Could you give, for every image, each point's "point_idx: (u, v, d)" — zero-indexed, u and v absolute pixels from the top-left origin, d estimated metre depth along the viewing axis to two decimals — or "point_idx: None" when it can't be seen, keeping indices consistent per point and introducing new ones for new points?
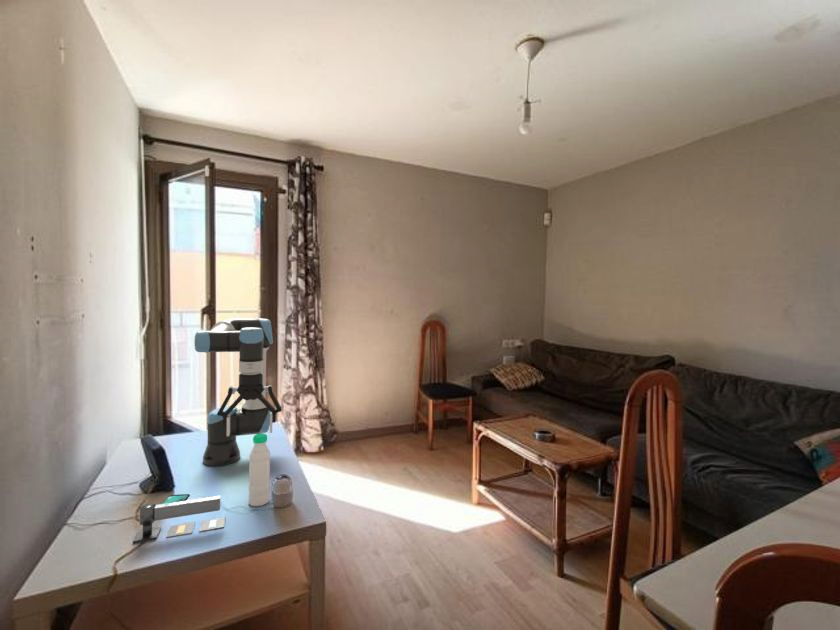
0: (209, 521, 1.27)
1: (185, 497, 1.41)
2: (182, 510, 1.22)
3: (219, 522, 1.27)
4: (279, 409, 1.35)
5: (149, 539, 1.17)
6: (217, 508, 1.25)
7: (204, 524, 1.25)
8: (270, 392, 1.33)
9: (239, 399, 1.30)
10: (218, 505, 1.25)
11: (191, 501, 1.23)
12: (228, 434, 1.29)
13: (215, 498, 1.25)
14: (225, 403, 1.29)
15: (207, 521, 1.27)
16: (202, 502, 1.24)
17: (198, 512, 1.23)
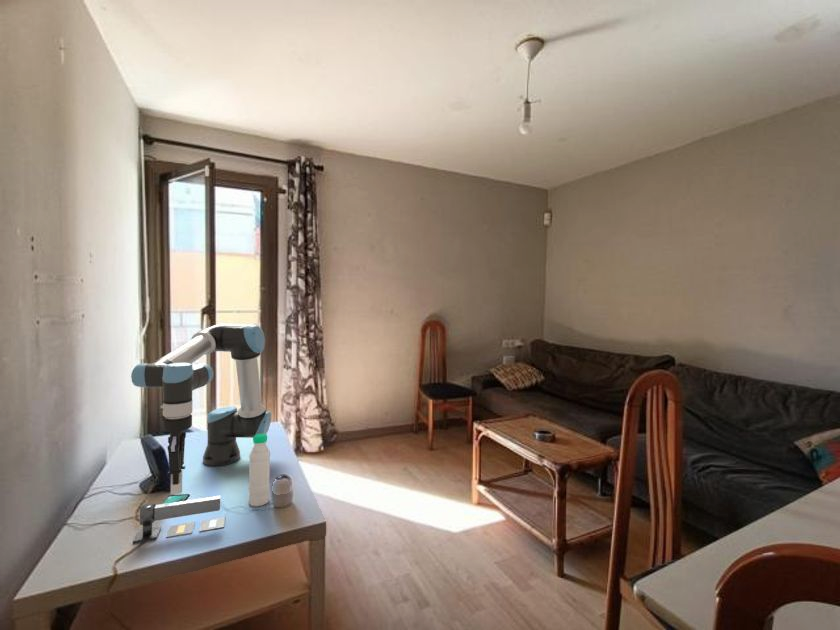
0: (209, 521, 1.27)
1: (185, 497, 1.41)
2: (182, 510, 1.22)
3: (219, 522, 1.27)
4: None
5: (149, 539, 1.17)
6: (217, 508, 1.25)
7: (204, 524, 1.25)
8: None
9: None
10: (218, 505, 1.25)
11: (191, 501, 1.23)
12: (171, 491, 1.15)
13: (215, 498, 1.25)
14: None
15: (207, 521, 1.27)
16: (202, 502, 1.24)
17: (198, 512, 1.23)
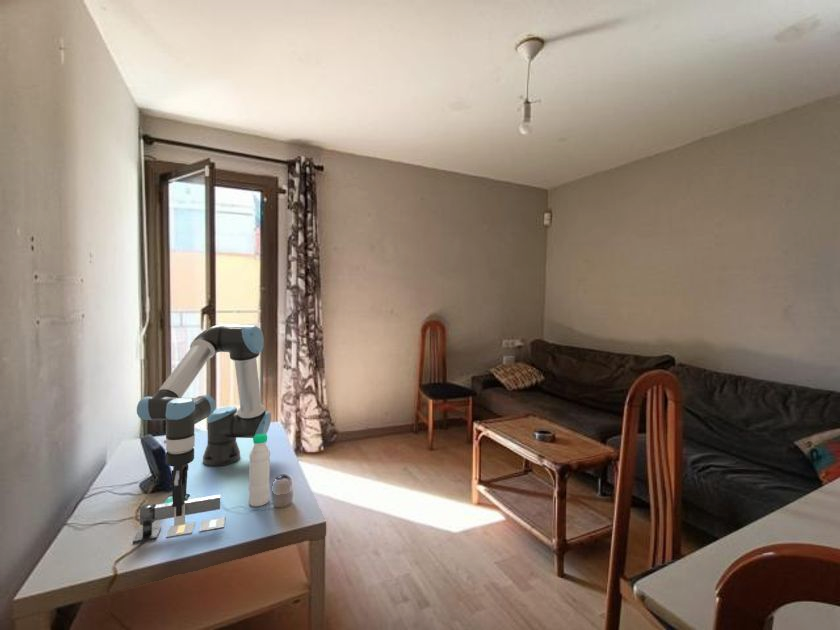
0: (209, 521, 1.27)
1: (185, 497, 1.41)
2: None
3: (219, 522, 1.27)
4: (173, 504, 1.16)
5: (149, 539, 1.17)
6: (217, 507, 1.26)
7: (204, 524, 1.25)
8: (172, 485, 1.14)
9: None
10: (218, 504, 1.26)
11: (191, 500, 1.24)
12: (174, 522, 1.19)
13: (215, 497, 1.26)
14: None
15: (207, 521, 1.27)
16: (203, 501, 1.24)
17: (198, 511, 1.24)
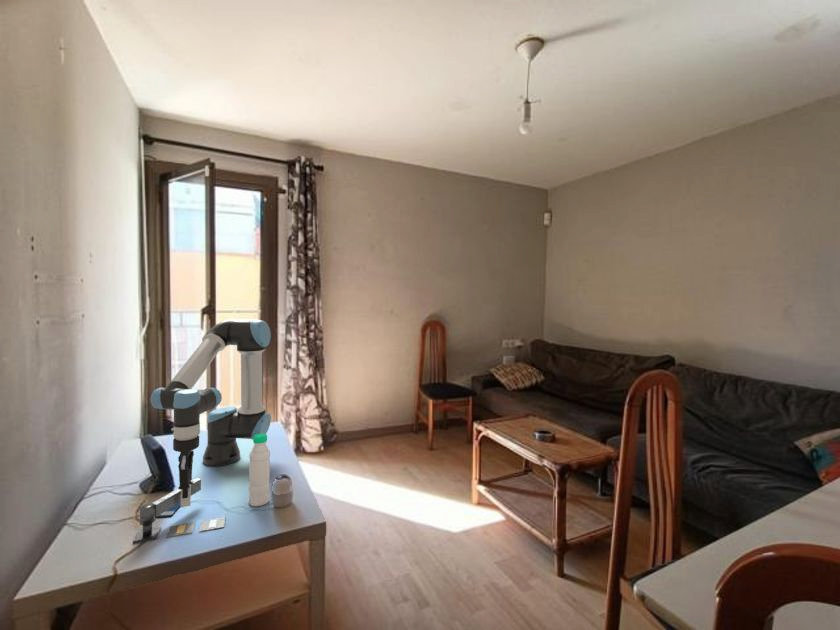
0: (209, 521, 1.27)
1: None
2: (176, 499, 1.28)
3: (219, 522, 1.27)
4: (180, 487, 1.26)
5: (149, 539, 1.17)
6: (199, 488, 1.38)
7: (204, 524, 1.25)
8: (179, 469, 1.24)
9: None
10: (200, 485, 1.38)
11: (180, 489, 1.30)
12: None
13: (197, 480, 1.37)
14: None
15: (207, 521, 1.27)
16: None
17: None
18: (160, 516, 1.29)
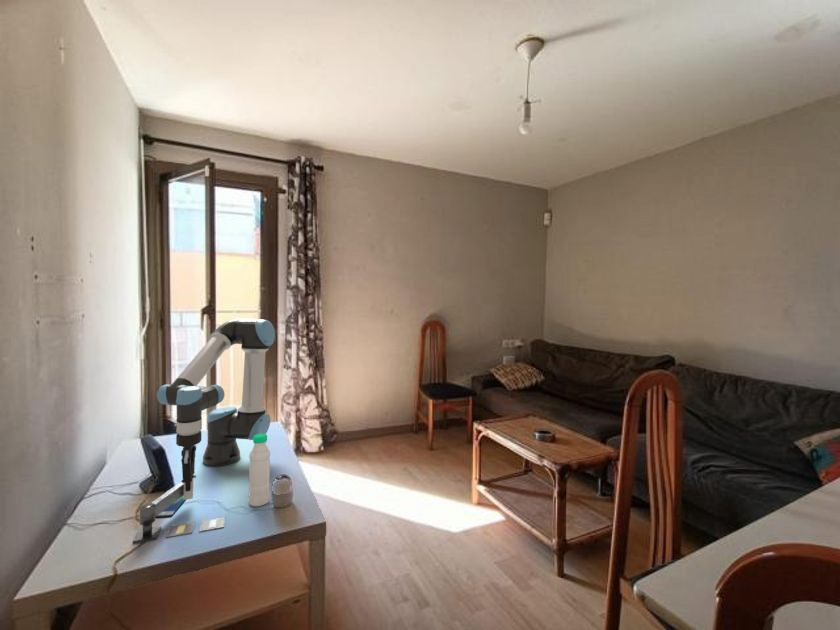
0: (209, 521, 1.27)
1: None
2: (172, 498, 1.28)
3: (219, 522, 1.27)
4: (183, 480, 1.30)
5: (149, 539, 1.17)
6: None
7: (204, 524, 1.25)
8: (182, 463, 1.29)
9: None
10: None
11: (174, 488, 1.31)
12: (184, 497, 1.34)
13: None
14: None
15: (207, 521, 1.27)
16: (183, 485, 1.34)
17: (181, 495, 1.33)
18: (160, 516, 1.29)
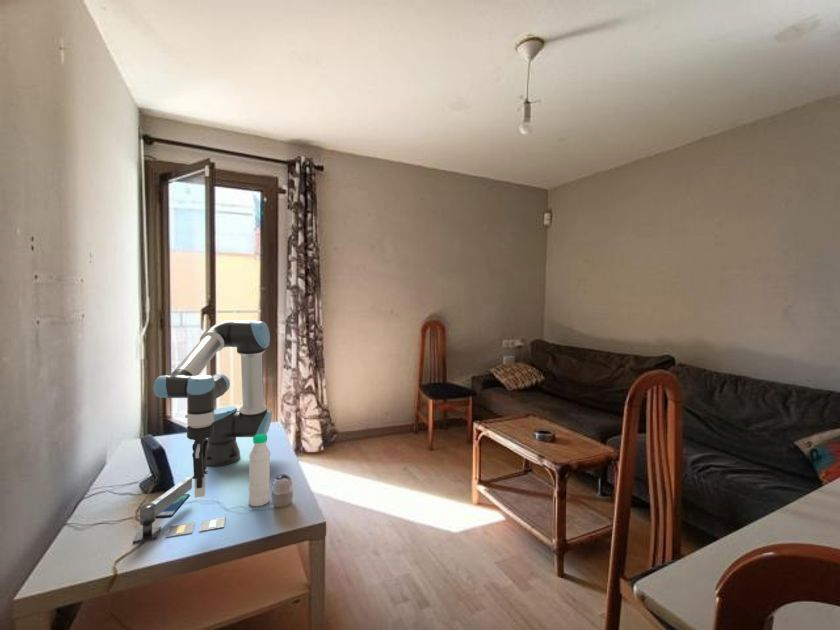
0: (209, 521, 1.27)
1: (185, 497, 1.41)
2: (171, 498, 1.28)
3: (219, 522, 1.27)
4: (194, 476, 1.20)
5: (149, 539, 1.17)
6: (190, 487, 1.38)
7: (204, 524, 1.25)
8: (193, 457, 1.18)
9: None
10: (191, 484, 1.38)
11: (174, 488, 1.31)
12: (195, 494, 1.24)
13: (188, 479, 1.37)
14: None
15: (207, 521, 1.27)
16: (183, 485, 1.34)
17: (180, 495, 1.33)
18: (160, 516, 1.29)
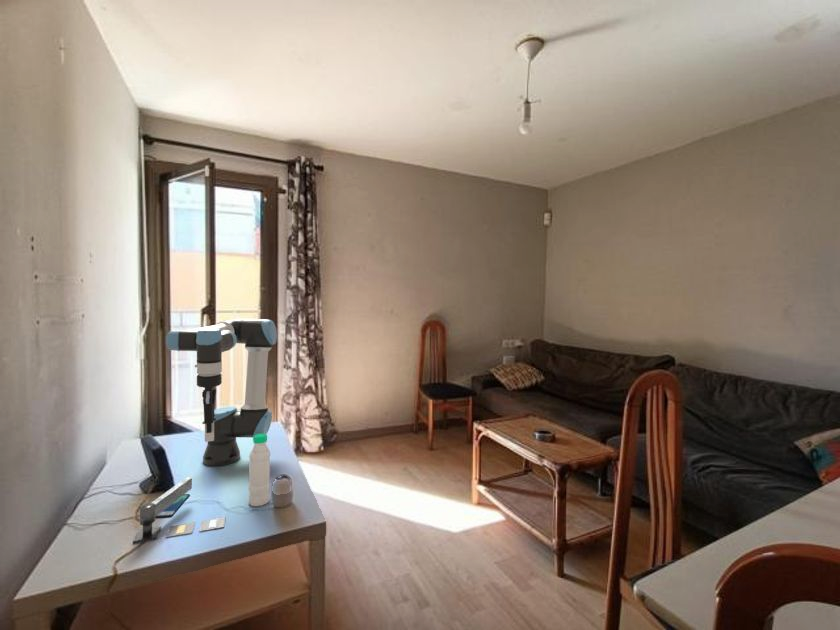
0: (209, 521, 1.27)
1: (185, 497, 1.41)
2: (171, 498, 1.28)
3: (219, 522, 1.27)
4: (204, 421, 1.29)
5: (149, 539, 1.17)
6: (190, 487, 1.38)
7: (204, 524, 1.25)
8: None
9: None
10: (191, 484, 1.38)
11: (174, 488, 1.31)
12: (205, 439, 1.33)
13: (188, 479, 1.37)
14: None
15: (207, 521, 1.27)
16: (183, 485, 1.34)
17: (180, 495, 1.33)
18: (160, 516, 1.29)
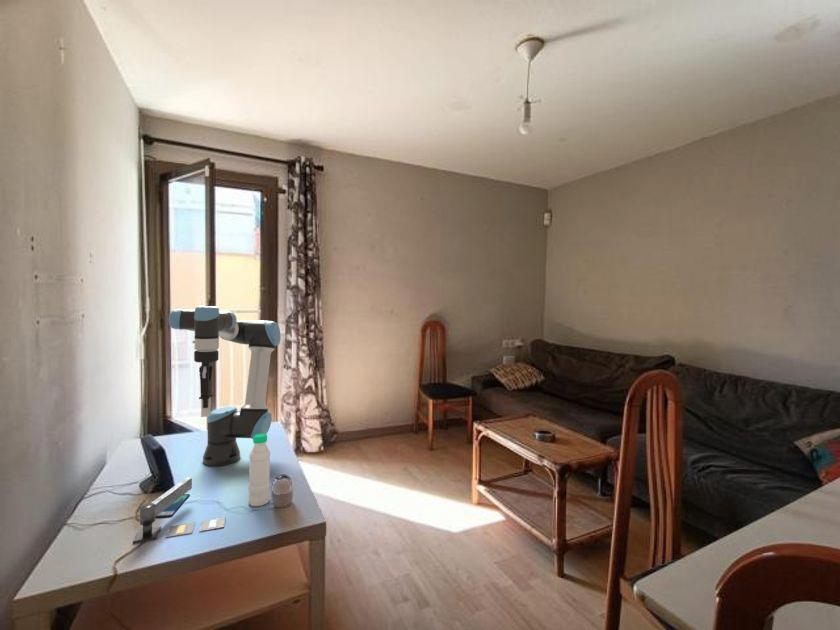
0: (209, 521, 1.27)
1: (185, 497, 1.41)
2: (171, 498, 1.28)
3: (219, 522, 1.27)
4: (200, 396, 1.32)
5: (149, 539, 1.17)
6: (190, 487, 1.38)
7: (204, 524, 1.25)
8: (200, 377, 1.30)
9: None
10: (191, 484, 1.38)
11: (174, 488, 1.31)
12: (201, 414, 1.35)
13: (188, 479, 1.37)
14: None
15: (207, 521, 1.27)
16: (183, 485, 1.34)
17: (180, 495, 1.33)
18: (160, 516, 1.29)
